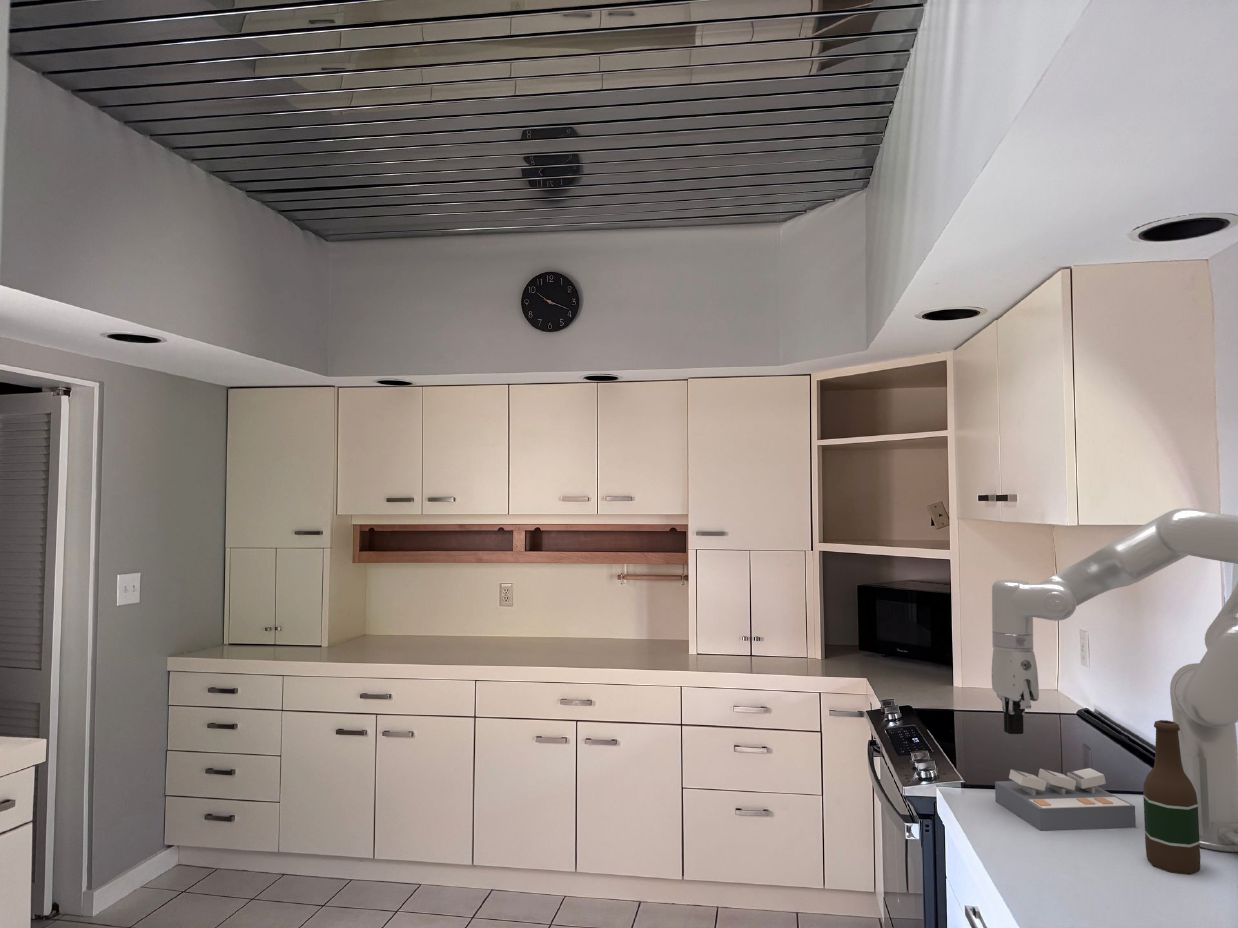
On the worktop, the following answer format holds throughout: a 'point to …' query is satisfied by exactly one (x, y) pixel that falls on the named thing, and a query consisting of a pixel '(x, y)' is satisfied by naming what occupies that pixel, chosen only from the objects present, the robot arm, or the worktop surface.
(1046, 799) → the switch unit
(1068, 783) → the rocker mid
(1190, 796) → the beer bottle
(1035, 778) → the rocker
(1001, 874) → the worktop surface
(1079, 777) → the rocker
